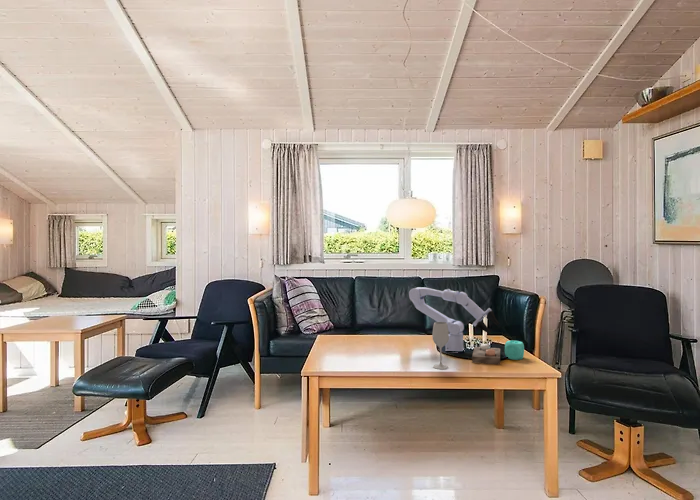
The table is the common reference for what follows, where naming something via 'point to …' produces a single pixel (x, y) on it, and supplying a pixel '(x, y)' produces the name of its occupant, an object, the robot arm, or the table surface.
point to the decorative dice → (514, 350)
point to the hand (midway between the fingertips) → (494, 328)
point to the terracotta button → (490, 352)
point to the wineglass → (440, 339)
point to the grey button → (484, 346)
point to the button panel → (481, 357)
